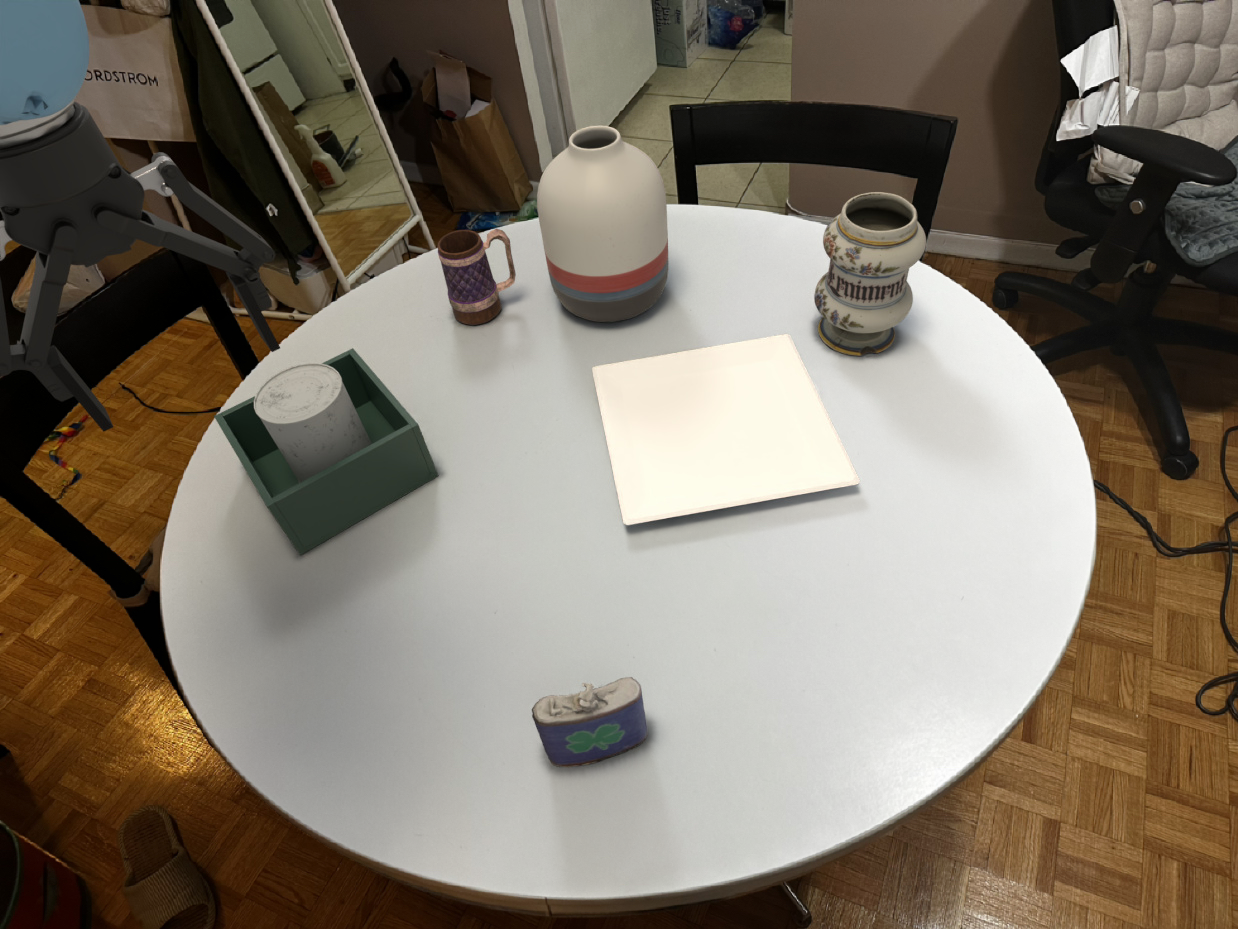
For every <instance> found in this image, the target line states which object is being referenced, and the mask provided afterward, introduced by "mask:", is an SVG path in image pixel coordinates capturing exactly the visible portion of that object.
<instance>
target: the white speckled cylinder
mask: <svg viewBox="0 0 1238 929" xmlns="http://www.w3.org/2000/svg"><path fill="white" fill-rule="evenodd" d="M254 396H255V399H254V409H255V412H256V414H257V415H258V416H259V417H260V419H261V420H262V422H263V424H264V425H265V427H266V428H267V430H268V432H269V433H270V435H271V437H272V438H273V440H274V442H275V443H276V445H277V447H278V448H279V450H280V451H281V453H282V455H283V456H284V458H285V460H286V461H287V463H288V465H289V466H290V468H291V470H292V471H293V473H294V474H295V476H296V478H297V479H298V482H299V483H301V482H303V481H305V480H306V479H308V478H310V477H312V476H314V475H316V474H317V473H319V472H321V471H323V470H325V469H327V468H329V467H330V466H332V465H334V464H336V463H338V462H340V461H341V460H343V459H345V458H347V457H349V456H351V455H353V454H354V453H356V452H358V451H360V450H362V449H364V448H366V447H367V446H369V445H371V444H372V443H371V441H370V439H369V437H368V435H367V433H366V431H365V429H364V426H363V424H362V422H361V420H360V418H359V416H358V414H357V412H356V410H355V407H354V405H353V403H352V401H351V399H350V397H349V395H348V393H347V391H346V388H345V386H344V384H343V382H342V378H341V376H340V374H339V373H338V372H337V371H336V370H335V369H334V368H333V367H330V366H328V365H325V364H322V363H320V362H308V363H307V362H306V363H300V364H296V365H293V366H290V367H286V368H285V369H283V370H281V371H278V372H277V373H275V374H273V375H272V376H270V378H268V379H267V380H265V382H264V383H262V385H261V386H260V387H259V389H258V390H257V392H256V393H255V395H254Z"/></svg>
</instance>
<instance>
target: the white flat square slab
mask: <svg viewBox="0 0 1238 929" xmlns="http://www.w3.org/2000/svg"><path fill="white" fill-rule="evenodd" d="M591 371H592V376H593V381H594V385H595V391H596V395H597V400H598V405H599V411H600V415H601V416H600V417H601V420H602V425H603V431H604V435H605V439H606V445H607V450H608V454H609V459H610V460H609V461H610V464H611V470H612V475H613V479H614V484H615V490H616V494H617V498H618V503H619V509H620V514H621V519H622V523H623V524H624V525H626V526H631V525H637V524H643V523H648V522H654V521H659V520H665V519H669V518H670V519H671V518H675V517H682V516H688V515H692V514H698V513H704V512H710V511H716V510H721V509H727V508H731V507H737V506H743V505H749V504H755V503H760V502H766V501H771V500H777V499H783V498H788V497H794V496H800V495H804V494H811V493H817V492H822V491H828V490H833V489H838V488H844V487H851V486H856V485H859V484H860V482H861V480H860V478H859V476H858V474H857V471H856V469H855V467H854V465H853V463H852V460H851V459H850V456H849V455H848V453H847V451H846V448H845V446H844V444H843V442H842V440H841V438H840V436H839V434H838V432H837V430H836V428H835V426H834V424H833V422H832V419H831V417H830V415H829V414H828V413H829V412H828V411H827V409H826V407H825V405H824V403H823V400H822V398H821V396H820V394H819V392H818V391H817V388H816V387H815V384H814V382H813V379H812V378H811V376H810V374H809V372H808V369H807V368H806V365H805V364H804V362H803V360H802V357H801V354H800V353H799V351H798V349H797V347H796V345H795V343H794V341H793V338H792V337H791V335H790V334H787V333H784V334H777V335H771V336H765V337H761V338H754V339H748V340H743V341H741V340H740V341H736V342H731V343H724V344H718V345H712V346H708V347H700V348H694V349H689V350H688V349H687V350H683V351H678V352H672V353H665V354H659V355H654V356H647V357H642V358H635V359H630V360H624V361H618V362H613V363H607V364H600V365H595V366H593V367H592V368H591Z"/></svg>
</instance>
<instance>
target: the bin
mask: <svg viewBox="0 0 1238 929" xmlns="http://www.w3.org/2000/svg"><path fill="white" fill-rule="evenodd" d="M321 364H325V365H328V366H330V367H333V368H334V369H335V370H336V371H337V372H338V373H339V374H340V376H341V378H342V382H343V384H344V386H345V388H346V391H347V393H348V395H349V397H350V399H351V401H352V403H353V405H354V407H355V410H356V412H357V414H358V416H359V418H360V420H361V422H362V424H363V426H364V429H365V431H366V433H367V435H368V437H369V439H370V441H371V443H372V444H371V445H369V446H367V447H366V448H364V449H362V450H360V451H358V452H356V453H354V454H353V455H351V456H349V457H347V458H345V459H343V460H341V461H340V462H338V463H336V464H334V465H332V466H330V467H329V468H327V469H325V470H323V471H321V472H319V473H317V474H316V475H314V476H312V477H310V478H308V479H306V480H305V481H303V482H301V483H299V482H298V479H297V478H296V476H295V474H294V473H293V471H292V470H291V468H290V466H289V465H288V463H287V461H286V460H285V458H284V456H283V455H282V453H281V451H280V450H279V448H278V447H277V445H276V443H275V442H274V440H273V438H272V437H271V435H270V433H269V432H268V430H267V428H266V427H265V425H264V424H263V422H262V420H261V419H260V417H259V416H258V415H257V414H256V412H255V409H254V399H255V396H256V395H254V396H252V397H250V398H248V399H246V400H243V401H242V402H240V403H238V404H236V405H234V406H231V407H230V408H227V409H226V410H223V411H221V412H220V413H217V414H215V415H214V416H213V417H214V419H215V421H216V422H217V424H218V425H219V427H220V430H221V431H222V433H223V435H224V436H225V438H226V440H227V441H228V443H229V445H230V446H231V448H232V450H233V452H234V454H235V455H236V457H237V458H238V460H239V461H240V463H241V465H242V466H243V468H244V470H245V472H246V473H247V475H248V477H249V478H250V480H251V482H252V484H253V486H254V487H255V489H256V491H257V492H258V494H259V495H260V497H261V499H262V500H263V503H264V504H265V506H266V507H267V509H268V510H269V512H270V513H271V515H272V516H273V518H274V519H275V521H276V522H277V524H278V525H279V527H280V528H281V529H282V531H283V532H284V534H285V536H286V537H287V539H288V540H289V541H290V543H291V544H292V546H293V547H294V549H295V550H296V552H297V553H298V554H299V556H302V555H303V554H305V553H307V552H309V551H310V550H313V549H314V548H316V547H317V546H319V545H321V544H323V543H324V542H326V541H329V540H330V539H332V538H333V537H334V536H336V535H338V534H341V533H342V532H343V531H345V530H347V529H349V528H351V527H352V526H353V525H356V524H358V523H359V522H360V521H363V520H364V519H366V518H368V517H370V516H371V515H373V514H374V513H376V512H378V511H380V510H382V509H384V508H386V507H387V506H388V505H390V504H392V503H394V502H395V501H398V500H399V499H401V498H402V497H404V496H406V495H408V494H410V493H411V492H413V491H414V490H416V489H418V488H420V487H421V486H423V485H426V484H427V483H429V482H430V481H433V480H434V479H436V478H437V477H439V472H438V471H437V468H436V465H435V463H434V461H433V458H432V456H431V453H430V451H429V448H428V445H427V443H426V441H425V438H424V435H423V432H422V430H421V428H420V425H419V423H418V422H417V421H416V420H415V418H414V417H413V416H412V415H411V414H410V413H409V412H408V410H407V409H406V408H405V407H404V406H403V405H402V404H401V402H400V401H399V400H398V398H396V396H395V395H394V394H393V393H392V391H391V390H389V388H388V387H387V386H386V385H385V384H384V383H383V381H382V380H381V379H380V378H379V376H377V374H376V373H375V372H374V370H372V368H371V367H370V366H369V365H368V364H367V363H366V362H365V360H364V359H363V358H362V356H360V355H359V353H358V352H357V351H356V349H354V348H353V347H352V348H350V349H348V350H347V351H344V352H342V353H339V354H338V355H336V356H334V357H332V358H329V359H327V360H326V361H324V362H321Z"/></svg>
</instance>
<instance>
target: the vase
mask: <svg viewBox="0 0 1238 929" xmlns="http://www.w3.org/2000/svg"><path fill="white" fill-rule="evenodd" d="M665 187H666V186H665V182H664V180H663V177H662V174H661V172H660V170H659V168H658V166H657V165H656V163H655V162H654V160H653V159H652V158H651V157H650V156H649V155H648V154H647V153H645V152H644V151H643V150H641V149H639V148H638V147H636V146H634V145H632V144H630V143H628V142H626V141H624V140H623V139H622V136H621V133H620V131H619V130H617V129H616V128H614V127H611V126H607V125H590V126H586V127H582V128H580V129H578V130H575V131H574V132H573V133H572V134H571V135H570V136H569V139H568V146H567V147H566V148H564V150H562V151H561V152H560V153H558V154H557V155H556V156H555V157H554V158H553V159H551V161H550V162H549V163H548V165H547V166H546V167H545V169H544V170H543V173H542V175H541V177H540V180H539V183H538V187H537V193H536V207H537V216H538V222H539V223H538V224H539V228H540V234H541V239H542V245H543V251H544V256H545V261H546V266H547V271H548V275H549V276H548V277H549V280H550V284H551V287H552V290H553V293H554V294H555V296H556V298H557V299H558V301H559V303H561V305H562V306H563V307H564V308H565V309H566V310H567V311H568V312H570V313H571V314H572V315H574V316H577V317H579V318H582V319H584V320H587V321H592V322H599V323H613V322H622V321H625V320H628V319H632V318H635V317H637V316H639V315H641V314H643V313H645V312H646V311H647V310H649V309H650V308H652V307H653V306H654V305H655V304H656V303H657V301H658V300H659V299H660V297H661V296H662V294H663V292H664V289H665V287H666V285H667V280H668V276H669V232H668V204H667V194H666V188H665Z"/></svg>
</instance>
